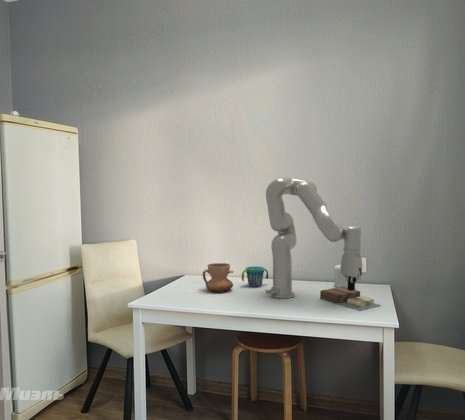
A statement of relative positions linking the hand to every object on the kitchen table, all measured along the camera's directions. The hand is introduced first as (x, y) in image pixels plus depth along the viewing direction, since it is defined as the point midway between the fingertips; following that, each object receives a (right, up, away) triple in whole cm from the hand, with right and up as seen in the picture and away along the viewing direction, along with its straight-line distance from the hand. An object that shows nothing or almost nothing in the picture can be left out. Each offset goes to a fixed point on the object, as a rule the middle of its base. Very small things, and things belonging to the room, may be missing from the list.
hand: (351, 290), depth 207 cm
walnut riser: (-4, -6, +7) cm, 10 cm away
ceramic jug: (-64, -6, +28) cm, 70 cm away
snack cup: (-44, -5, +36) cm, 57 cm away
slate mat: (+3, -6, -4) cm, 8 cm away
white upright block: (+4, -4, +30) cm, 31 cm away
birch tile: (+3, -5, -4) cm, 7 cm away
